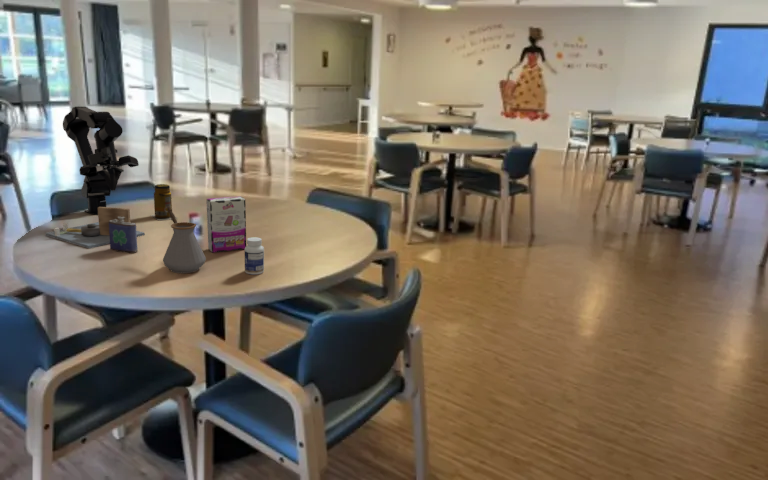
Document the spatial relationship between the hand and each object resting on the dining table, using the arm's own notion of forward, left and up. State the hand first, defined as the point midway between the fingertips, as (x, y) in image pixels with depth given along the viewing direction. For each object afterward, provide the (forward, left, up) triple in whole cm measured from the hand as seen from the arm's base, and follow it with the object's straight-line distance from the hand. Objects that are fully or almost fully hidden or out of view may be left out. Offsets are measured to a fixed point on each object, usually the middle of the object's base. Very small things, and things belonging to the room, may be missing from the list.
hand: (113, 190), depth 200 cm
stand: (+7, -13, -12) cm, 19 cm away
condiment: (+4, +17, -12) cm, 22 cm away
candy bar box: (+49, +3, -12) cm, 51 cm away
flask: (+27, -18, -12) cm, 34 cm away
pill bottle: (+70, -8, -12) cm, 71 cm away
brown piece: (+10, -14, -11) cm, 20 cm away
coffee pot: (+49, -16, -12) cm, 53 cm away
